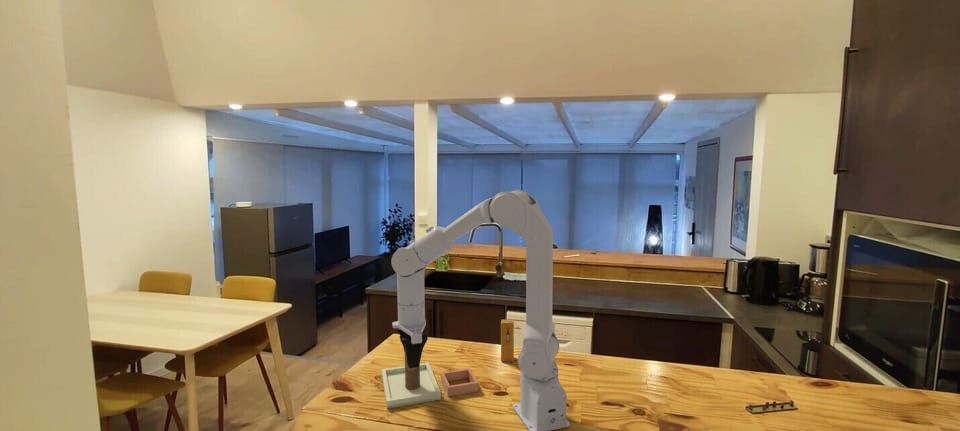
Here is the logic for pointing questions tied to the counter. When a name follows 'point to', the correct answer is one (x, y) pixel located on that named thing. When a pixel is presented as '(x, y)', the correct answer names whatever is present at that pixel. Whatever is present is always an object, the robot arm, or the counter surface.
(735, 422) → the counter surface
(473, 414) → the counter surface
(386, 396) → the tray
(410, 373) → the dowel
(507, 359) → the supplement box
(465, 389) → the holder
